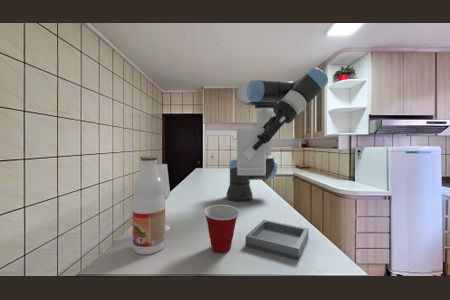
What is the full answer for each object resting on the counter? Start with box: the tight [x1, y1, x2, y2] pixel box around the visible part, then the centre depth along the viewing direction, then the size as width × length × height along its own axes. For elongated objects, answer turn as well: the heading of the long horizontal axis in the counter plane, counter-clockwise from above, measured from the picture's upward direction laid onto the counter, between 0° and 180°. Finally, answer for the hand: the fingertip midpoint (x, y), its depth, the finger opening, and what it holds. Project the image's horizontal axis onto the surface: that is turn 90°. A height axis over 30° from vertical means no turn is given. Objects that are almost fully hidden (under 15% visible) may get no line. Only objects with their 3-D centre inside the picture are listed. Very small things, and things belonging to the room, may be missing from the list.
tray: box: [245, 219, 309, 261], centre depth 70 cm, size 16×16×3 cm
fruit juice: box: [131, 155, 166, 255], centre depth 65 cm, size 9×9×28 cm
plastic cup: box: [203, 204, 240, 254], centre depth 65 cm, size 11×11×12 cm
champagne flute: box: [156, 163, 171, 232], centre depth 79 cm, size 7×7×24 cm
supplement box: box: [236, 127, 266, 176], centre depth 71 cm, size 9×9×15 cm
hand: (243, 155), depth 71 cm, fingers closed on supplement box, 10 cm apart
